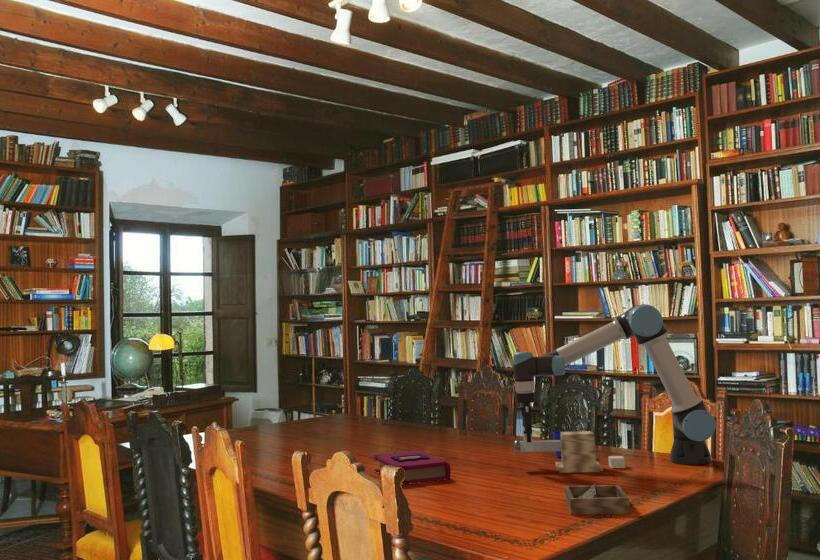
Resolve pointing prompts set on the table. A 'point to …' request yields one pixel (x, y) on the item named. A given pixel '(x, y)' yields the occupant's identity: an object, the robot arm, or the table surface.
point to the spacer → (616, 461)
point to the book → (416, 466)
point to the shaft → (539, 445)
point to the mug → (557, 437)
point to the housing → (578, 453)
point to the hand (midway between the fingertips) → (528, 447)
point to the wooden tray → (597, 500)
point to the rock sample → (590, 493)
